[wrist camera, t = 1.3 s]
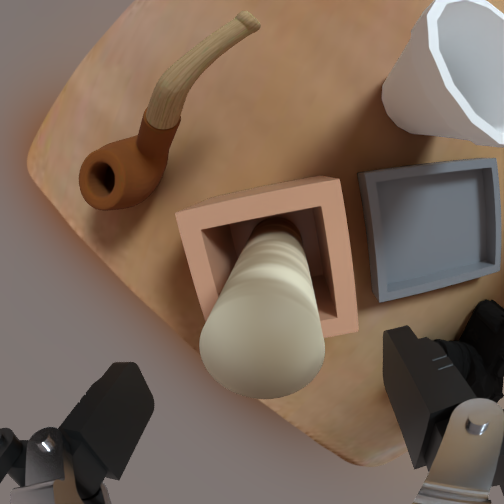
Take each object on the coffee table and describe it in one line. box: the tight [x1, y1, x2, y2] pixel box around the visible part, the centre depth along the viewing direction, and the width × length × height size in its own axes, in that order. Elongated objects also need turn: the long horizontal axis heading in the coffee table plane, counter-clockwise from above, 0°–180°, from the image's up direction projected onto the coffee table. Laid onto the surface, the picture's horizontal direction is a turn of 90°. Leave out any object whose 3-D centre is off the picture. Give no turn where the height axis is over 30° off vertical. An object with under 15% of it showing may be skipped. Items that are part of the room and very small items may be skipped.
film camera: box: [432, 300, 504, 403], centre depth 24 cm, size 15×10×9 cm, turn 165°
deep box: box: [175, 175, 359, 338], centre depth 22 cm, size 10×10×9 cm
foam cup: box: [382, 0, 504, 147], centre depth 15 cm, size 10×9×13 cm
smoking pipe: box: [79, 11, 261, 210], centre depth 19 cm, size 7×18×6 cm
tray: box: [357, 158, 501, 303], centre depth 23 cm, size 14×11×2 cm
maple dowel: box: [199, 217, 325, 399], centre depth 18 cm, size 4×4×16 cm
